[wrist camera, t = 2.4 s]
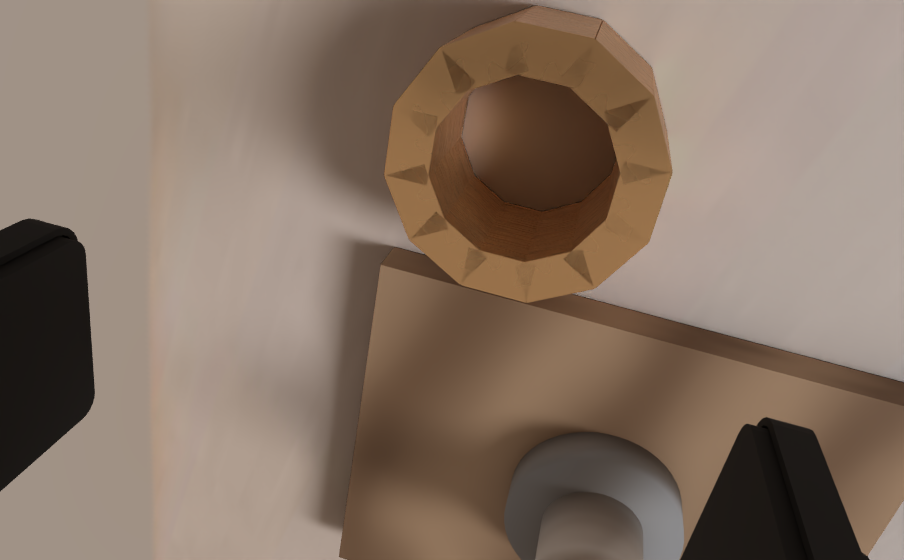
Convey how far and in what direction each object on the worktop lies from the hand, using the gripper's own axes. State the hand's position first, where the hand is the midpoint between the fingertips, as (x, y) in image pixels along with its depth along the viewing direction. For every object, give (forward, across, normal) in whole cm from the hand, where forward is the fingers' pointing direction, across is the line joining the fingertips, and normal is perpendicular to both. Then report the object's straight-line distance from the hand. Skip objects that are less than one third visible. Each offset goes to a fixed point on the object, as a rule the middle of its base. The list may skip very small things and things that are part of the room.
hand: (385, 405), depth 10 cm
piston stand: (+14, -6, +11) cm, 19 cm away
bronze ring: (+14, -1, -1) cm, 14 cm away
